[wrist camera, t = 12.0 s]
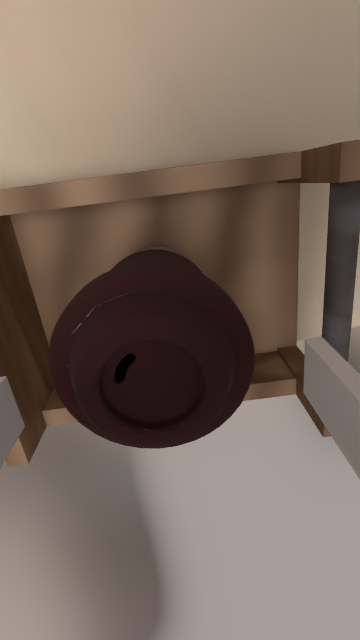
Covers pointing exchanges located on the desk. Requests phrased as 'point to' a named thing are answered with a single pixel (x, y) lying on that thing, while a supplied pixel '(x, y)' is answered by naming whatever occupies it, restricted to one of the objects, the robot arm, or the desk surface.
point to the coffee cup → (151, 352)
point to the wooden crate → (188, 239)
